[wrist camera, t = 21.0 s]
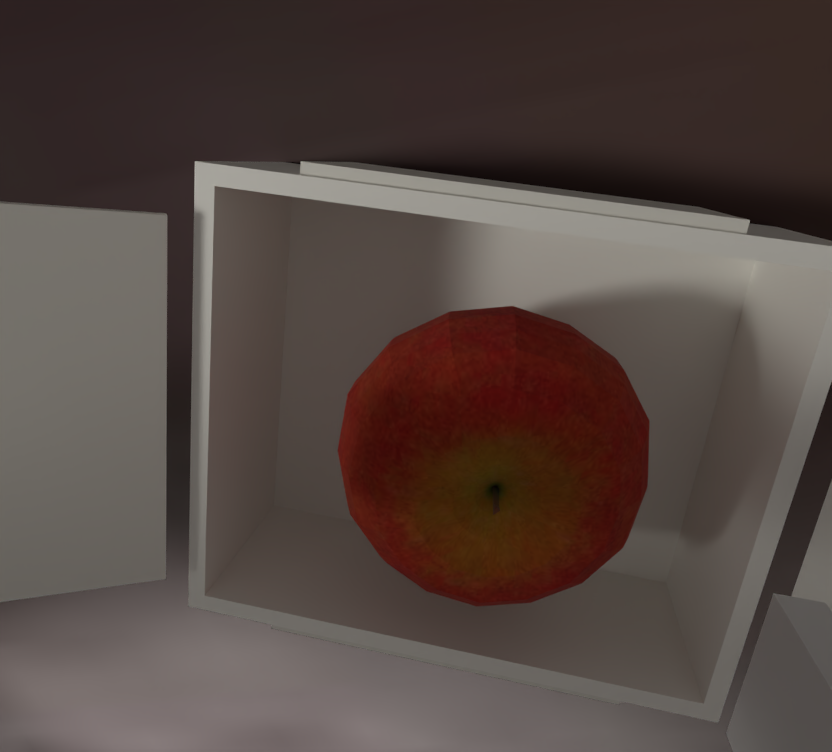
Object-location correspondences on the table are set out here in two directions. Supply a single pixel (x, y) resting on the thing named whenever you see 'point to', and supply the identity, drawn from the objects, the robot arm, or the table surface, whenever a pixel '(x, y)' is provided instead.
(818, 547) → the flap
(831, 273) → the carton
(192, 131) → the table surface
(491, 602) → the apple
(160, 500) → the flap
